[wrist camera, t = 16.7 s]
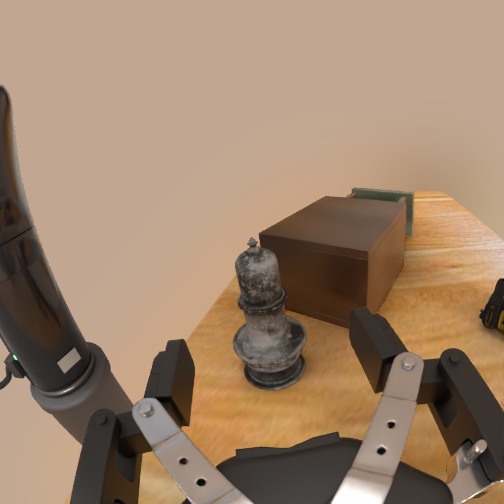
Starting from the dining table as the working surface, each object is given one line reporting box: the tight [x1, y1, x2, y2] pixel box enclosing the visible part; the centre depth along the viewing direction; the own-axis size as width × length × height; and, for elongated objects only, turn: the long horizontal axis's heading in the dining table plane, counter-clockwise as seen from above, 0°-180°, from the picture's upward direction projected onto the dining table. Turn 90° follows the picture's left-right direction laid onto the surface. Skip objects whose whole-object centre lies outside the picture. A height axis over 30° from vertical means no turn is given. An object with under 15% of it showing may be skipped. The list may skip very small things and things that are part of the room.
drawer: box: [345, 188, 414, 238], centre depth 40 cm, size 18×10×7 cm, turn 139°
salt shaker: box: [233, 238, 307, 390], centre depth 21 cm, size 6×6×12 cm
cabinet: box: [259, 196, 406, 328], centre depth 32 cm, size 15×12×9 cm
